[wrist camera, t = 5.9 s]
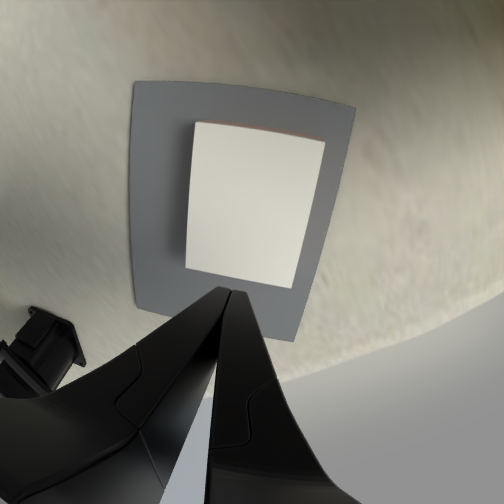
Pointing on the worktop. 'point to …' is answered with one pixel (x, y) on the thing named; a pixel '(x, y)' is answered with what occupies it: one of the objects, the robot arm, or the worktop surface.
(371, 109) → the worktop surface
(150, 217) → the mat
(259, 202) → the tile
